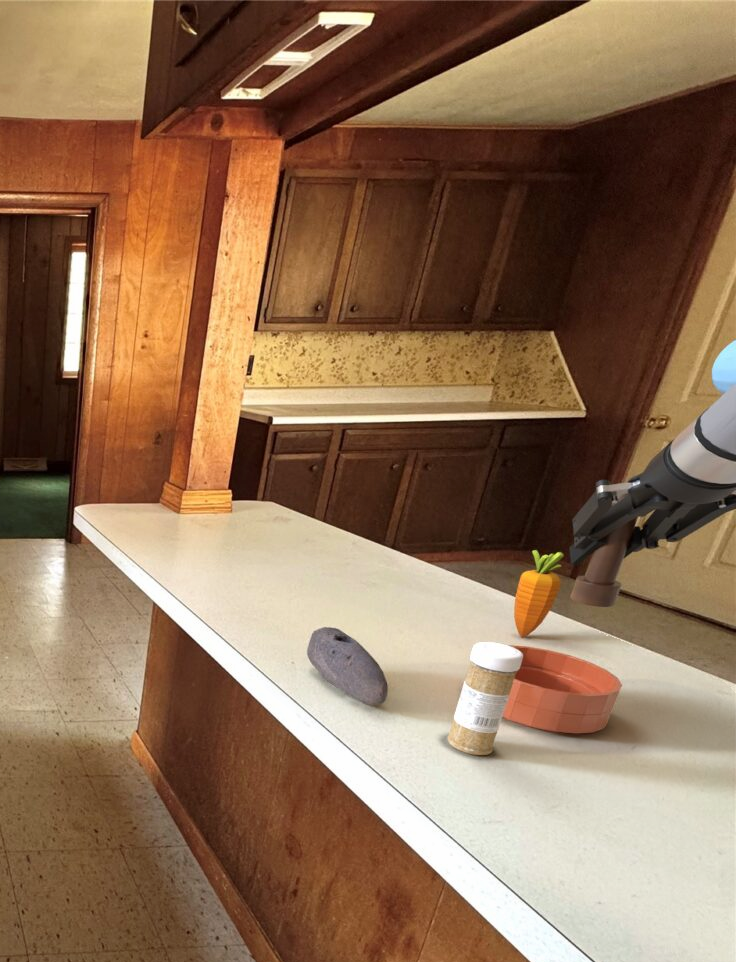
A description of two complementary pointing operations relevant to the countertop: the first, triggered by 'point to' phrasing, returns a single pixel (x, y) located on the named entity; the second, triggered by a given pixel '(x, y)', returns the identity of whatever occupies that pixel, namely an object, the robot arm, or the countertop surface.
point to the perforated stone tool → (347, 665)
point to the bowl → (561, 693)
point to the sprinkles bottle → (484, 697)
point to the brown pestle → (604, 569)
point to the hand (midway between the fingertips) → (590, 557)
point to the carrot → (536, 593)
